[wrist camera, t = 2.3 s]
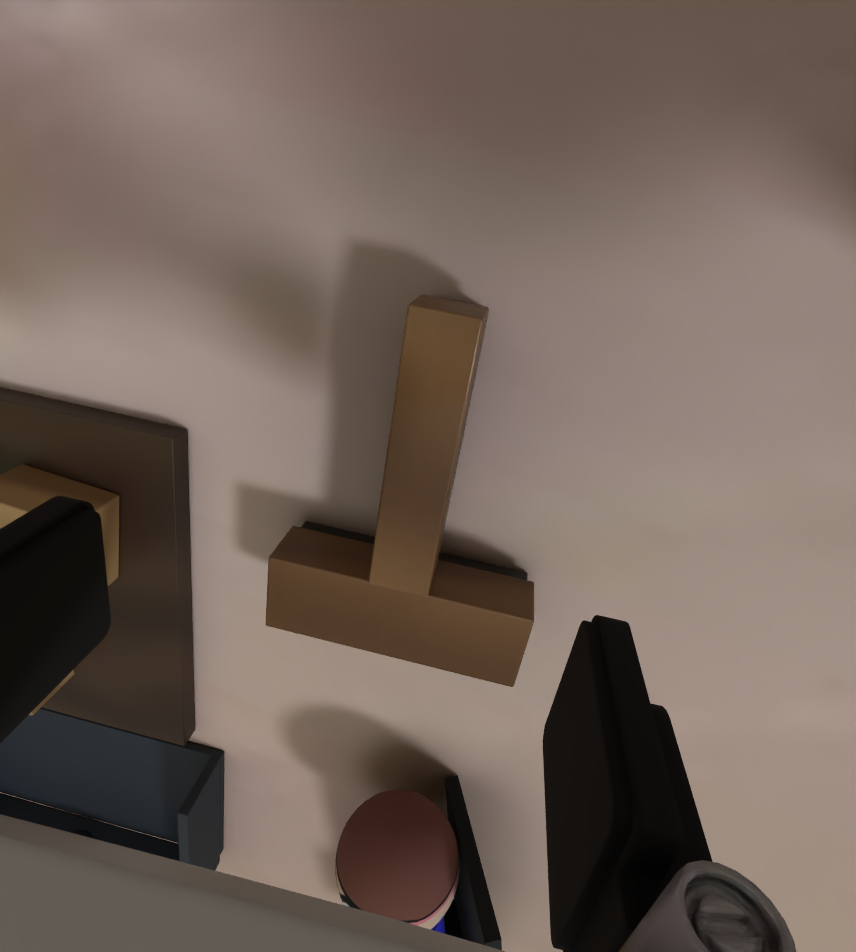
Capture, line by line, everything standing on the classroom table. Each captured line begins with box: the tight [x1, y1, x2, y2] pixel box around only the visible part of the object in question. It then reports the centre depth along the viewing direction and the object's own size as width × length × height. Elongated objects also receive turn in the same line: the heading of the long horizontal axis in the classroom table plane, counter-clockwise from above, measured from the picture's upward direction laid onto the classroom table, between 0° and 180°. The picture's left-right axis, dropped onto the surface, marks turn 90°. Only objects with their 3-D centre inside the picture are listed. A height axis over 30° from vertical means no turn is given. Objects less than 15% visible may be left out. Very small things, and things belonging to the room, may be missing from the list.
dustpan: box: [0, 707, 224, 871], centre depth 31 cm, size 18×15×3 cm
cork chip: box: [0, 465, 119, 586], centre depth 21 cm, size 4×4×2 cm
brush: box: [266, 295, 534, 687], centre depth 19 cm, size 12×9×3 cm
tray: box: [0, 388, 195, 746], centre depth 25 cm, size 16×12×1 cm
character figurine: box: [336, 775, 502, 950], centre depth 25 cm, size 8×7×15 cm
